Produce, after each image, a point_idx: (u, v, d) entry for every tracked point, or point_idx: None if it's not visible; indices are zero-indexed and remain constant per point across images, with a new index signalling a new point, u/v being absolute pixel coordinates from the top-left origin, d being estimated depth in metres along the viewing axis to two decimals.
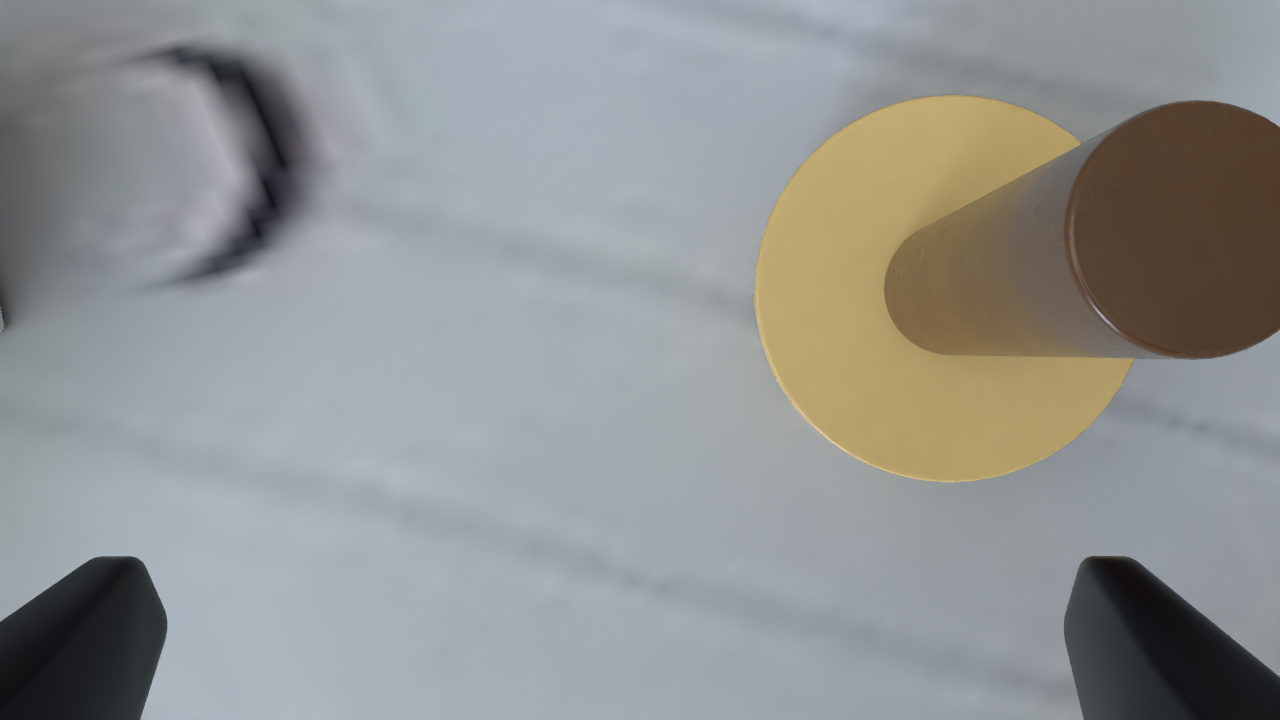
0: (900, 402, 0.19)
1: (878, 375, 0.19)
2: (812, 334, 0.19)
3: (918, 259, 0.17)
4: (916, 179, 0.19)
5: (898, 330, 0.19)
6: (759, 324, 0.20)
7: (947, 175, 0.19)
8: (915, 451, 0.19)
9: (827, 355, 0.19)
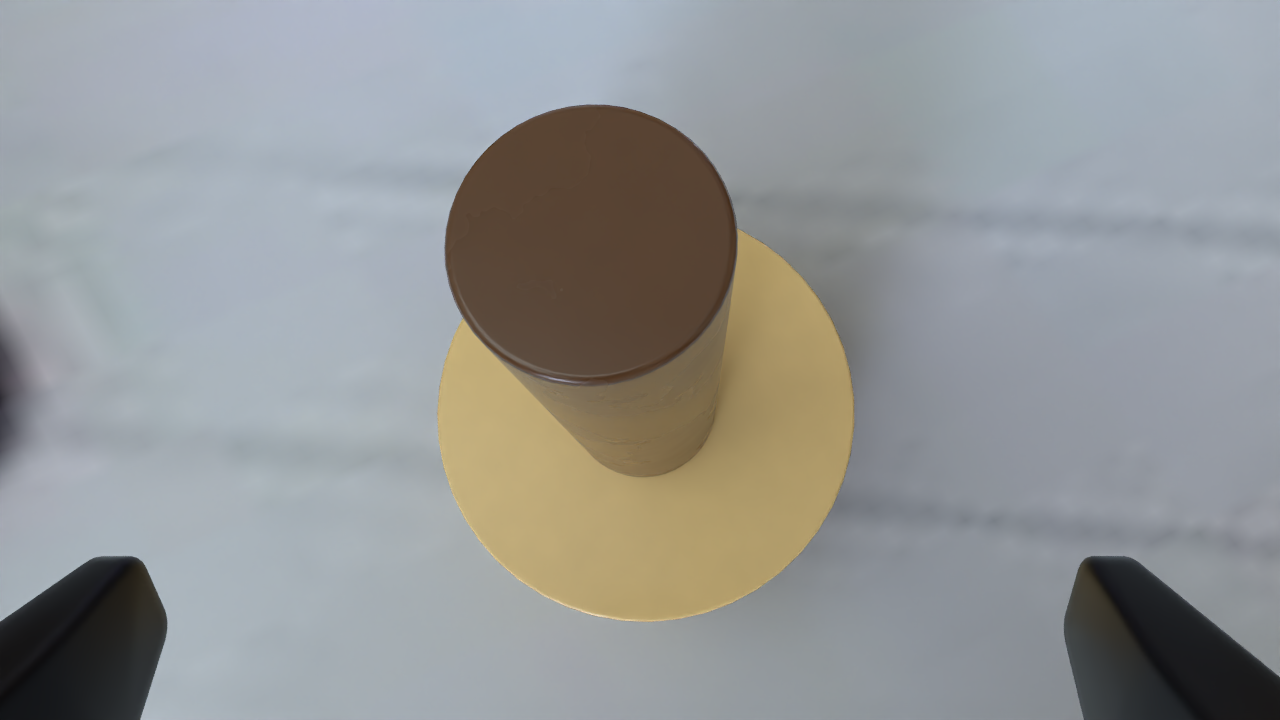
0: (610, 537, 0.17)
1: (581, 511, 0.18)
2: (504, 478, 0.18)
3: None
4: None
5: (595, 459, 0.18)
6: (447, 477, 0.18)
7: None
8: (635, 589, 0.17)
9: (524, 498, 0.18)
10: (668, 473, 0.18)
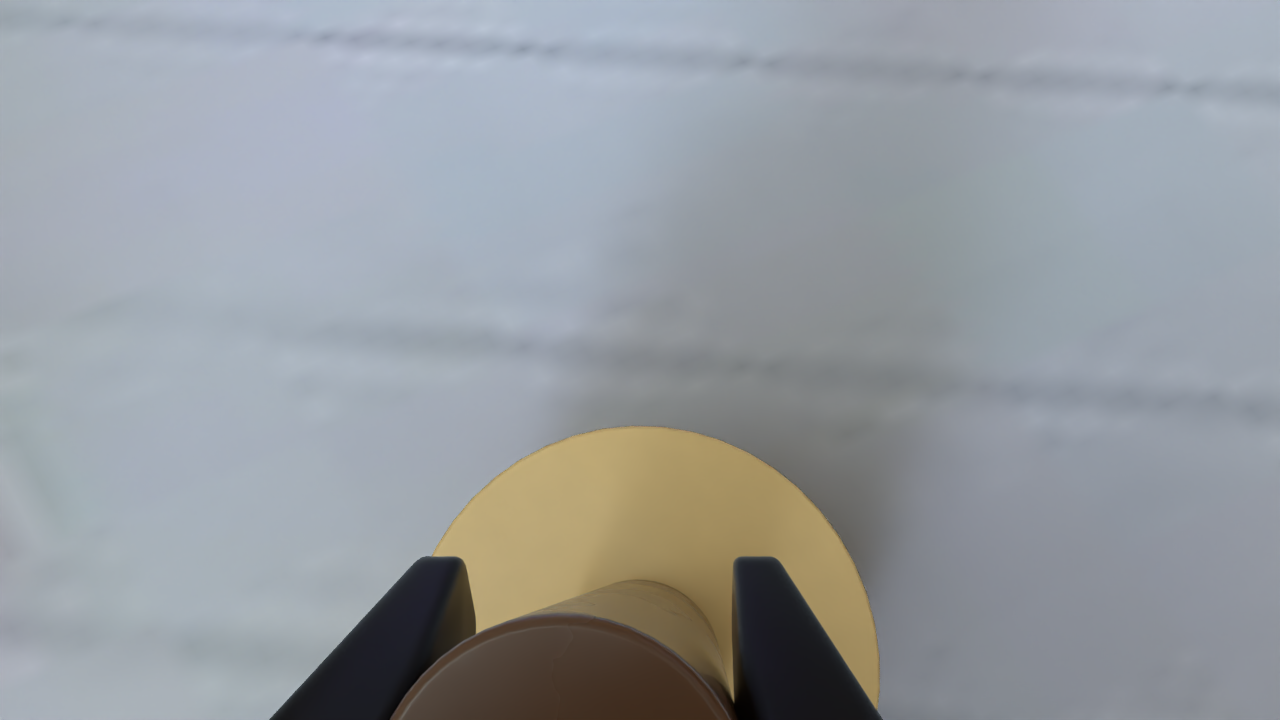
0: None
1: None
2: None
3: None
4: (577, 534, 0.16)
5: None
6: None
7: (613, 524, 0.16)
8: None
9: None
10: None
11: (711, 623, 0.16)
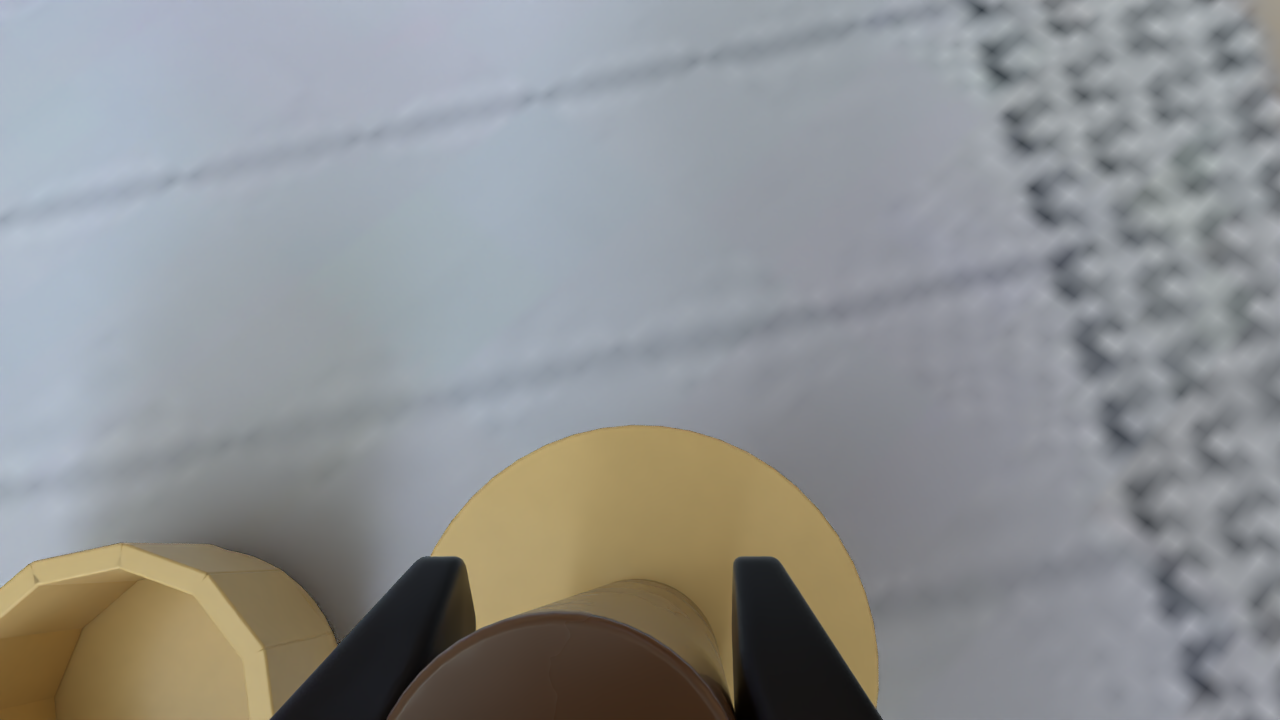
0: None
1: None
2: None
3: None
4: (576, 534, 0.16)
5: None
6: None
7: (612, 523, 0.16)
8: None
9: None
10: None
11: (710, 622, 0.16)
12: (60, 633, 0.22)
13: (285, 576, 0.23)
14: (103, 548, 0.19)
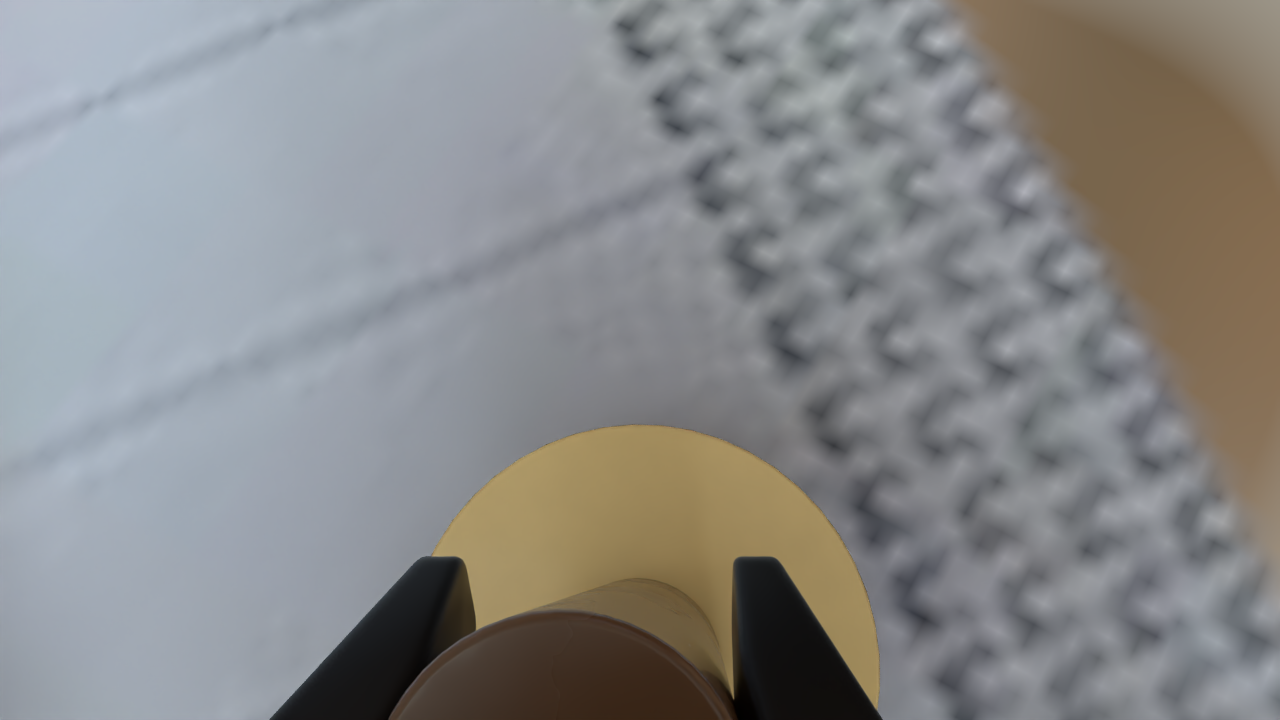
0: None
1: None
2: None
3: None
4: (577, 533, 0.16)
5: None
6: None
7: (613, 523, 0.16)
8: None
9: None
10: None
11: (711, 622, 0.16)
12: None
13: None
14: None
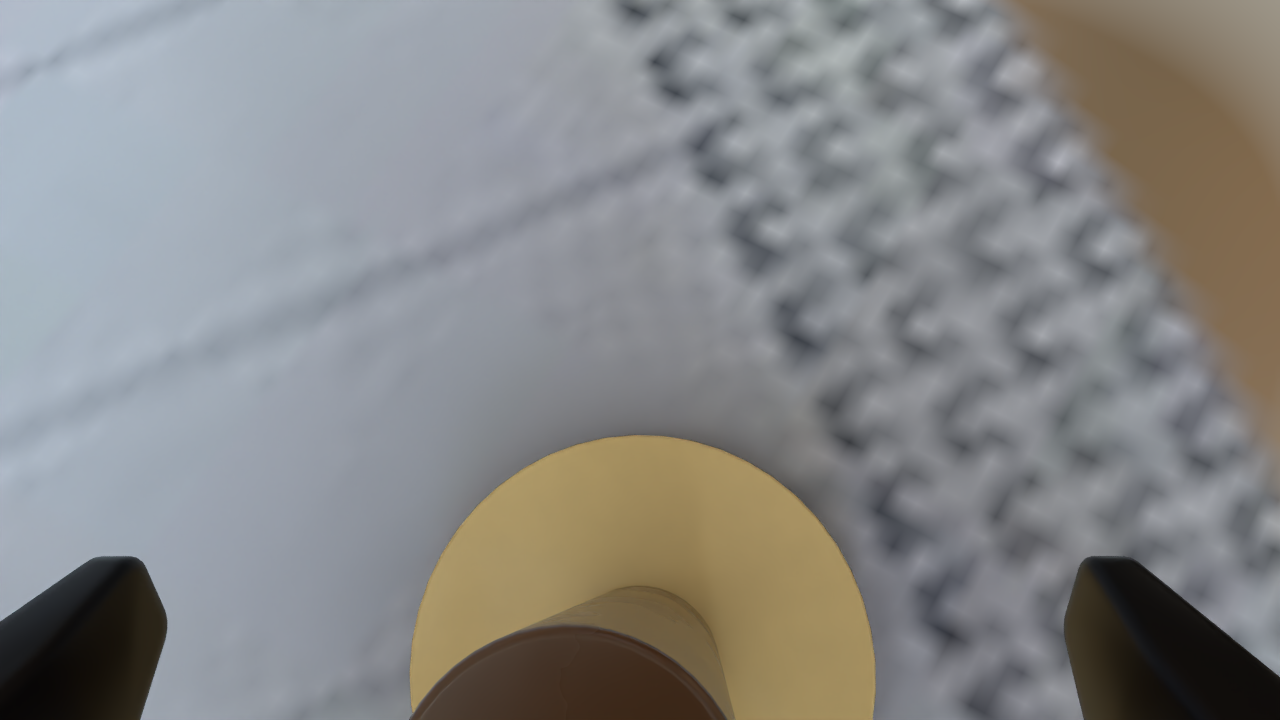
0: None
1: None
2: None
3: None
4: (579, 541, 0.16)
5: None
6: None
7: (614, 531, 0.16)
8: None
9: None
10: None
11: (711, 628, 0.16)
12: None
13: None
14: None
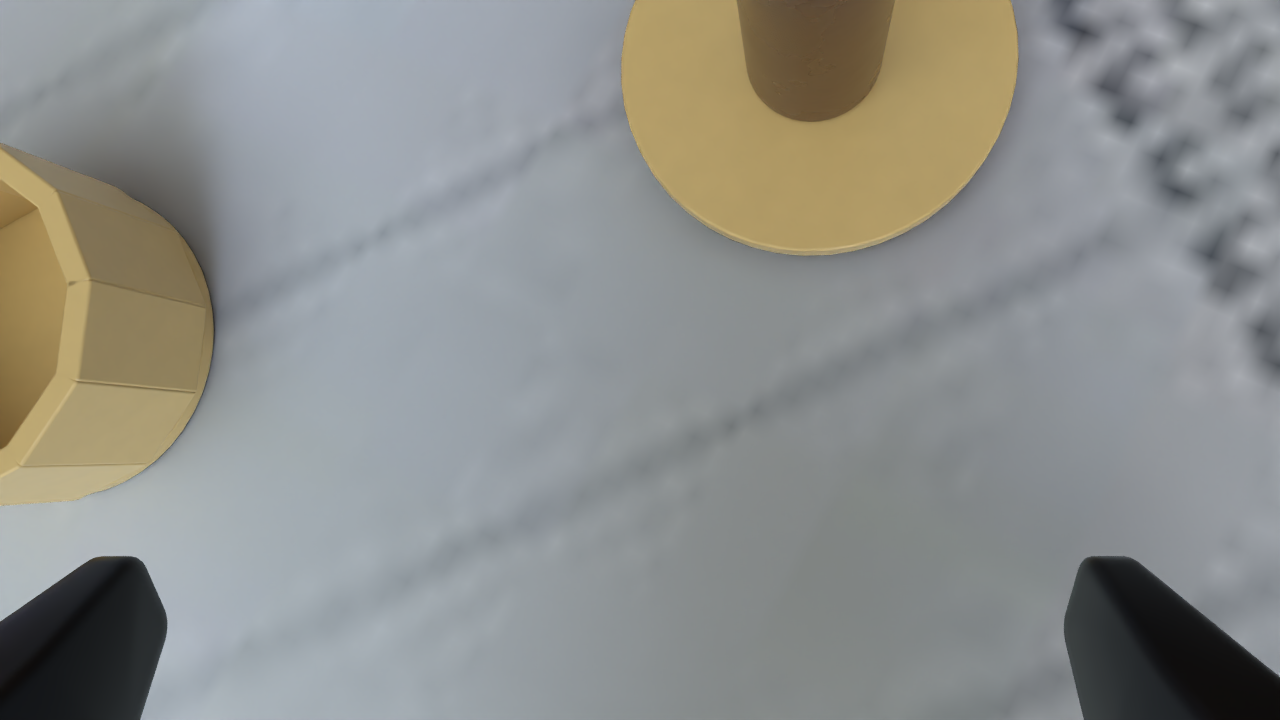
0: (788, 179, 0.19)
1: (761, 157, 0.19)
2: (687, 134, 0.19)
3: None
4: None
5: (770, 109, 0.19)
6: (635, 138, 0.20)
7: None
8: (814, 223, 0.19)
9: (707, 150, 0.19)
10: (840, 117, 0.19)
11: None
12: None
13: (118, 189, 0.22)
14: None
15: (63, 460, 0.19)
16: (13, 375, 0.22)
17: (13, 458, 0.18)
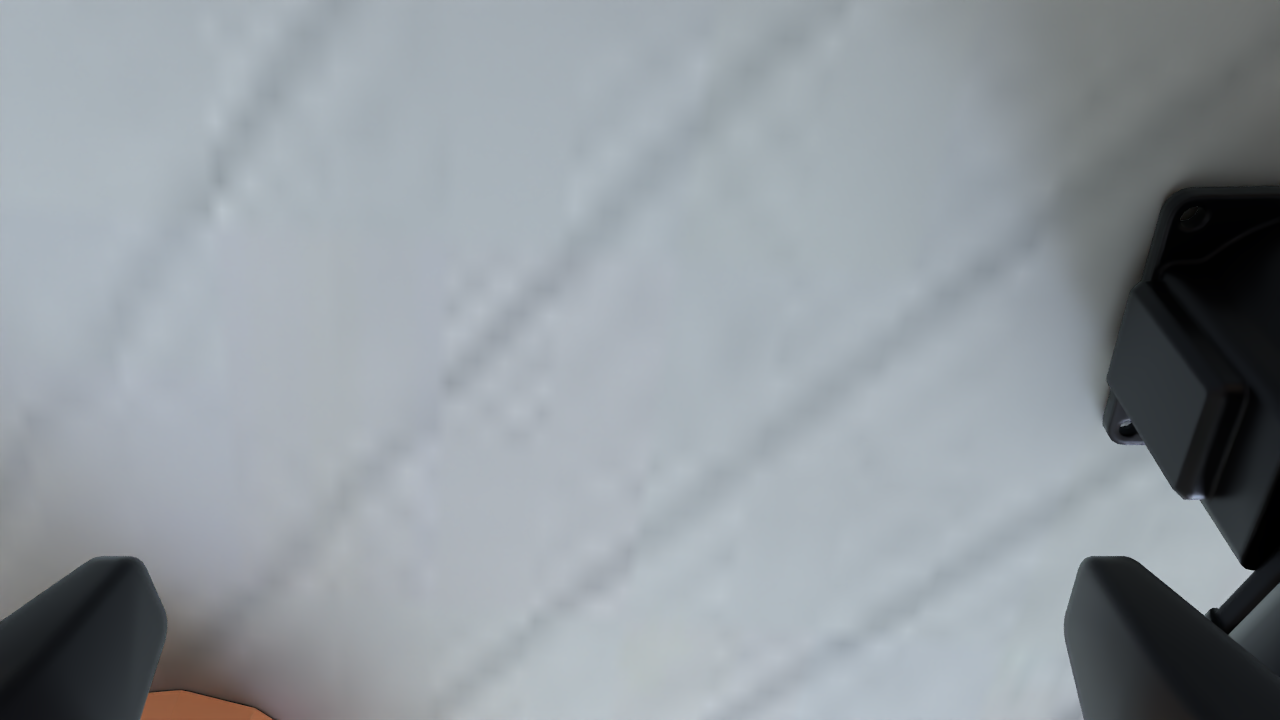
0: None
1: None
2: None
3: None
4: None
5: None
6: None
7: None
8: None
9: None
10: None
11: None
12: None
13: None
14: None
15: None
16: None
17: None
